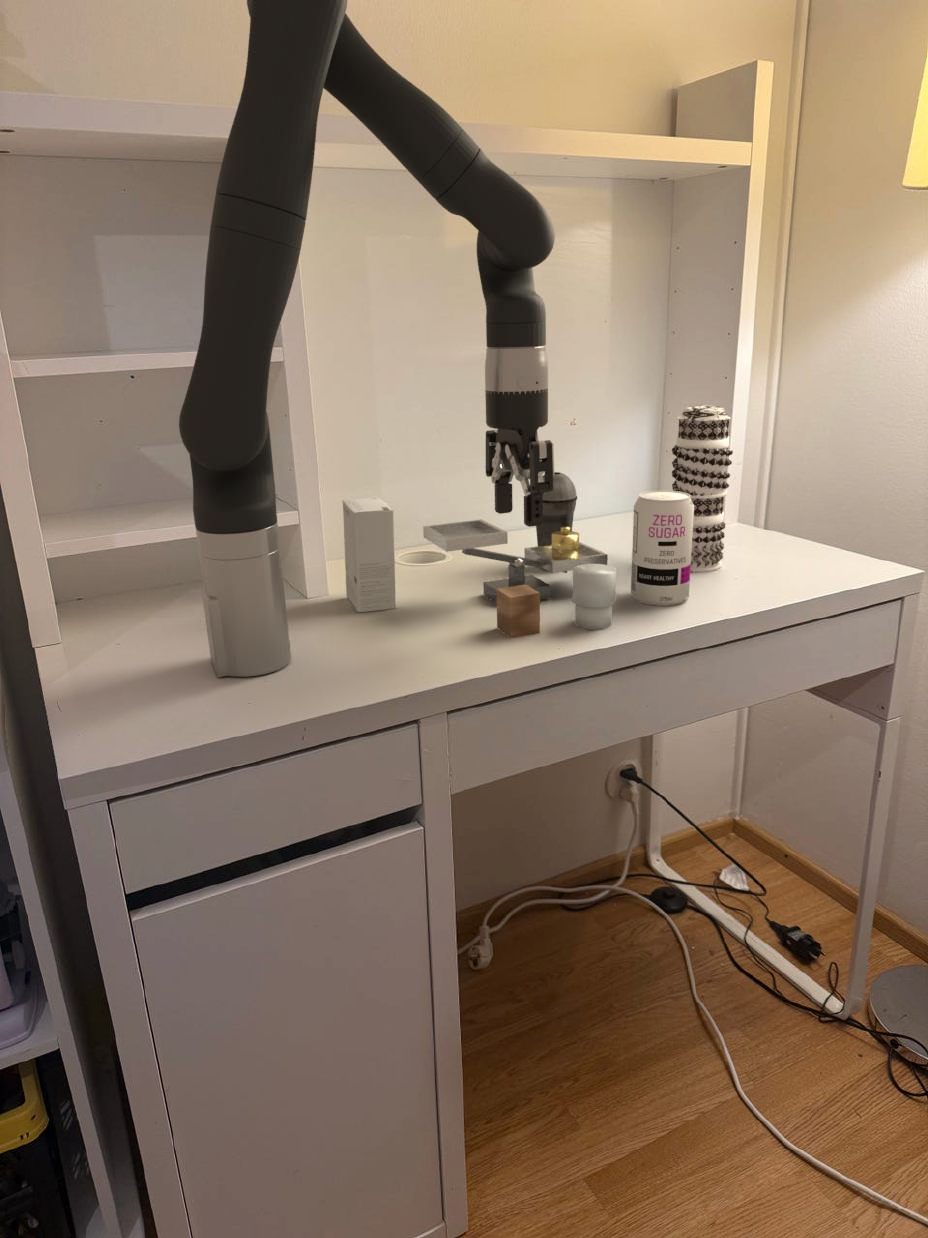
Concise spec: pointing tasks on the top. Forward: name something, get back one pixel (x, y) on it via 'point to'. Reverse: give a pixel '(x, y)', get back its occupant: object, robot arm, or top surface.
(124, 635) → the top surface
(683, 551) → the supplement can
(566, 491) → the beverage cup
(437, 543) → the balance
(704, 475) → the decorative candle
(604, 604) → the white stepped cylinder
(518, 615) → the walnut block
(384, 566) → the skincare box
